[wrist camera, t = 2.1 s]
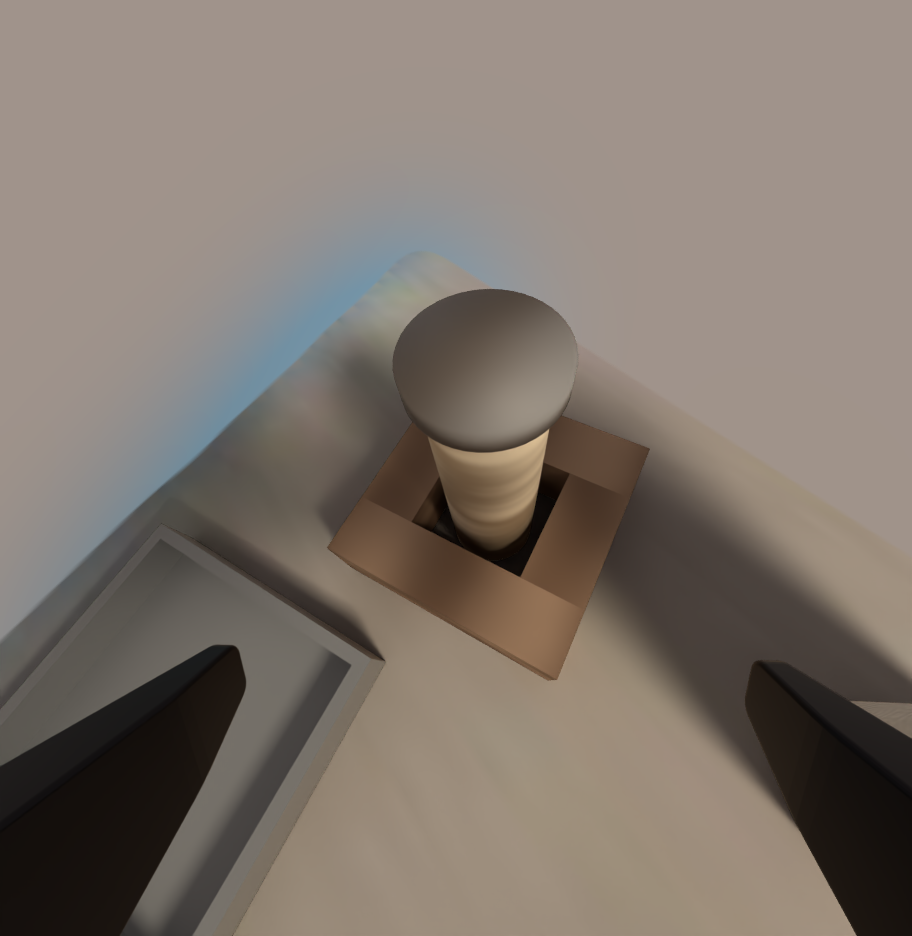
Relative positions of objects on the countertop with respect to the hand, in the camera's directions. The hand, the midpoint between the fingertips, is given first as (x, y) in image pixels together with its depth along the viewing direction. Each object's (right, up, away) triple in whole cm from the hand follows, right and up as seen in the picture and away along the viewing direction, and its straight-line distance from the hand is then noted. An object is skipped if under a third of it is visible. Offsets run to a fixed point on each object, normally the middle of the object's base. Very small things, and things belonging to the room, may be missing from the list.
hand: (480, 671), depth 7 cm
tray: (-13, -8, +12) cm, 19 cm away
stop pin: (+2, +1, +15) cm, 15 cm away
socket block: (+2, +1, +15) cm, 15 cm away
